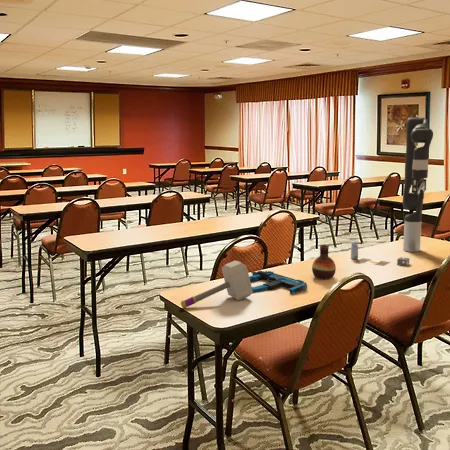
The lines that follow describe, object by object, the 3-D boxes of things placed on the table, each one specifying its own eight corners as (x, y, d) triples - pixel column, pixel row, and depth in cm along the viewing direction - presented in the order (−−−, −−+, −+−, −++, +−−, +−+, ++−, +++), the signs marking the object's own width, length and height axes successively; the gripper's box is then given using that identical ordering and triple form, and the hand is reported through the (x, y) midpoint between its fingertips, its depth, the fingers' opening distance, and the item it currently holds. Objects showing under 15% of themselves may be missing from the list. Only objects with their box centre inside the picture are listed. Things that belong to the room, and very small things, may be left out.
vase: (335, 274, 259) (336, 243, 257) (335, 281, 249) (336, 248, 246) (312, 273, 262) (313, 243, 259) (311, 280, 251) (311, 247, 248)
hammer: (181, 290, 207) (245, 262, 219) (173, 285, 214) (236, 258, 226) (191, 324, 211) (253, 295, 224) (182, 319, 218) (244, 290, 230)
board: (353, 259, 290) (353, 256, 290) (391, 264, 277) (391, 262, 277) (345, 262, 282) (345, 260, 282) (383, 268, 270) (383, 266, 269)
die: (400, 265, 275) (400, 257, 275) (409, 267, 273) (409, 258, 272) (397, 267, 272) (397, 258, 271) (405, 268, 269) (406, 260, 268)
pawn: (352, 257, 287) (352, 240, 285) (359, 258, 285) (359, 241, 283) (349, 259, 284) (349, 241, 282) (356, 260, 282) (356, 242, 280)
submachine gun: (222, 276, 249) (262, 265, 264) (222, 284, 250) (262, 272, 264) (272, 294, 222) (313, 280, 237) (272, 302, 223) (314, 288, 238)
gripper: (417, 167, 279) (416, 198, 282) (407, 169, 269) (406, 201, 271) (432, 168, 275) (430, 199, 278) (422, 169, 264) (421, 202, 267)
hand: (418, 200), depth 275 cm, fingers open, 8 cm apart
